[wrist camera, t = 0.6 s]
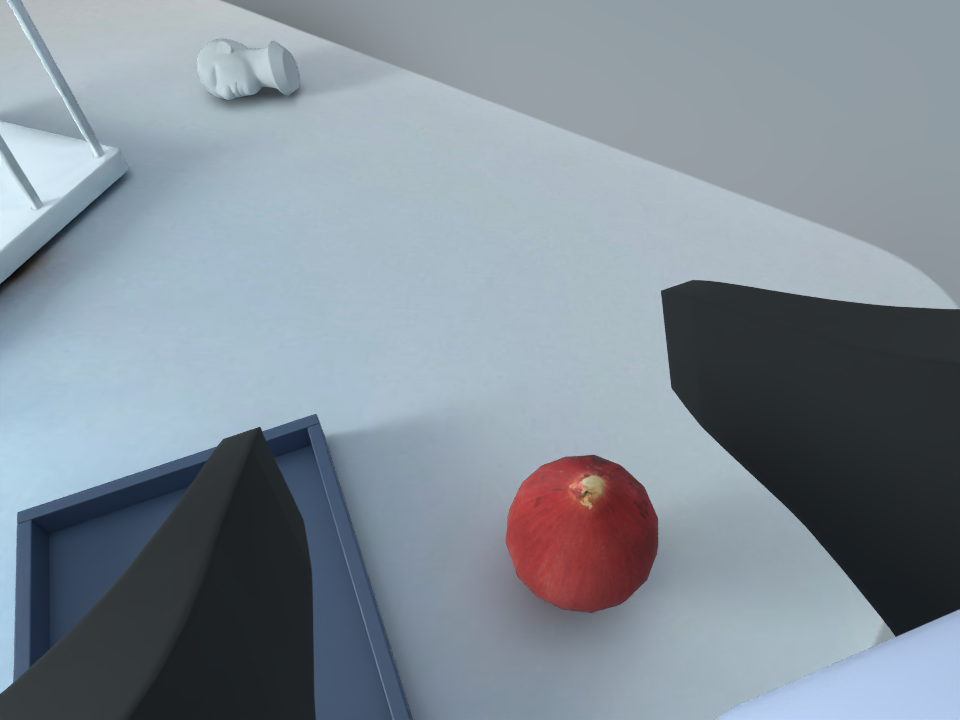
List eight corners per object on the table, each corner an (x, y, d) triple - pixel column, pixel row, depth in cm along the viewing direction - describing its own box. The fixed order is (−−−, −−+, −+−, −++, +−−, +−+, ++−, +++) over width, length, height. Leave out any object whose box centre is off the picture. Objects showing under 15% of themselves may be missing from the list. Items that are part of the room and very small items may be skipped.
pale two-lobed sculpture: (201, 111, 55) (227, 62, 56) (288, 126, 53) (313, 75, 54) (171, 70, 51) (200, 19, 52) (264, 84, 49) (292, 31, 51)
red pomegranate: (539, 487, 32) (549, 385, 26) (659, 539, 30) (700, 443, 24) (483, 599, 29) (478, 512, 22) (613, 664, 27) (647, 590, 21)
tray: (425, 761, 25) (420, 751, 24) (41, 938, 22) (6, 940, 21) (324, 436, 34) (316, 413, 32) (40, 532, 31) (16, 512, 30)
